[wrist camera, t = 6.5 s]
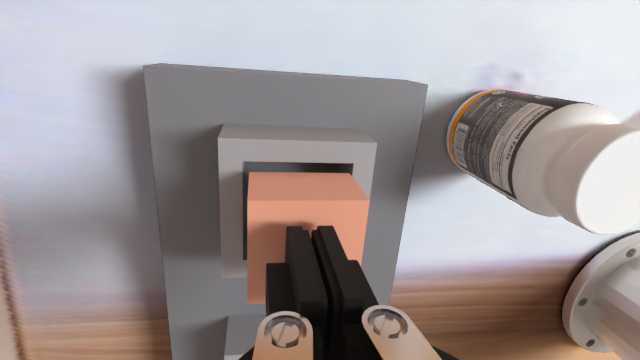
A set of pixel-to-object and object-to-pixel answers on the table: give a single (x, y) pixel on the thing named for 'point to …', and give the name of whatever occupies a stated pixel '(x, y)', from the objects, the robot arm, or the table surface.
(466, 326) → the table surface
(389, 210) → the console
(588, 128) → the pill bottle
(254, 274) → the terracotta key
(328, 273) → the robot arm
